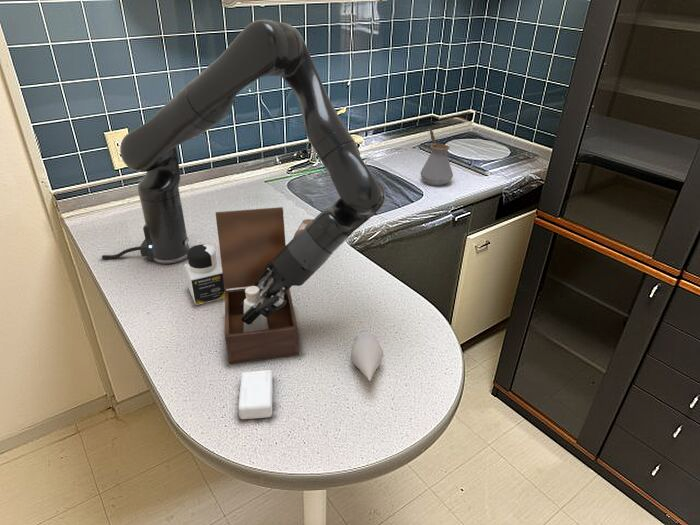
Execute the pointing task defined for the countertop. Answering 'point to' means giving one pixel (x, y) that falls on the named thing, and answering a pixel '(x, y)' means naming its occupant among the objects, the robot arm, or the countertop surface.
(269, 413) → the soap
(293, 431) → the countertop surface
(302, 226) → the tin
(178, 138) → the robot arm
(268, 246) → the lid
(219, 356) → the countertop surface
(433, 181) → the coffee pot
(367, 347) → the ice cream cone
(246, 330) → the pepper shaker
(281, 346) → the box
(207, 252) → the medicine bottle
